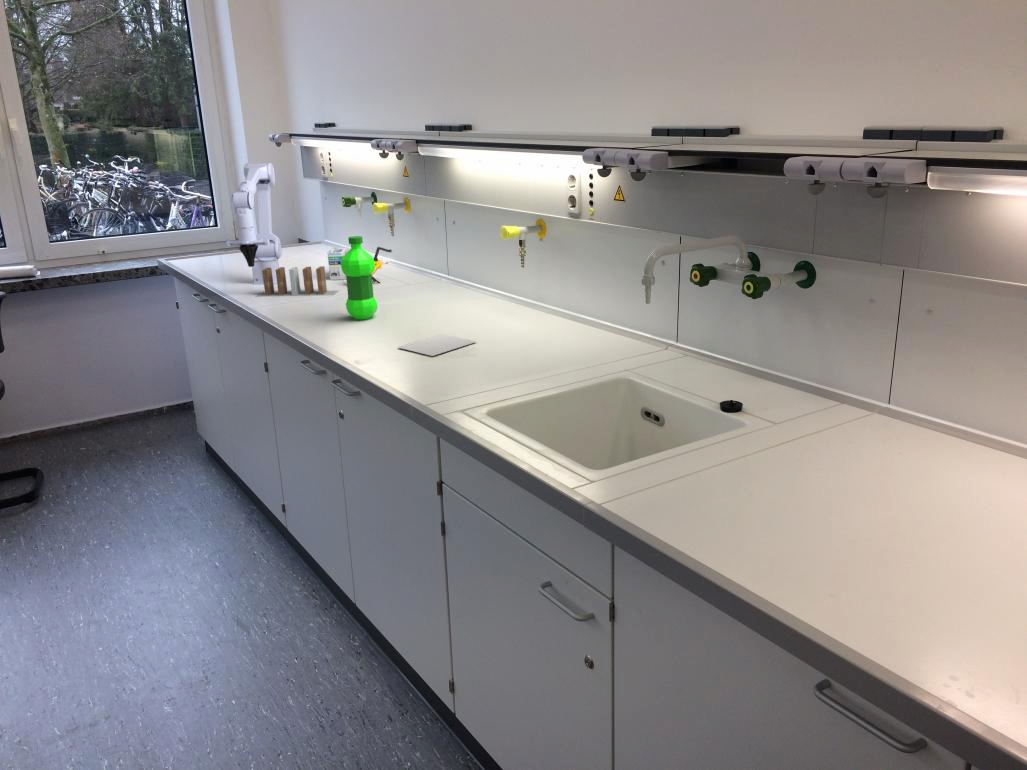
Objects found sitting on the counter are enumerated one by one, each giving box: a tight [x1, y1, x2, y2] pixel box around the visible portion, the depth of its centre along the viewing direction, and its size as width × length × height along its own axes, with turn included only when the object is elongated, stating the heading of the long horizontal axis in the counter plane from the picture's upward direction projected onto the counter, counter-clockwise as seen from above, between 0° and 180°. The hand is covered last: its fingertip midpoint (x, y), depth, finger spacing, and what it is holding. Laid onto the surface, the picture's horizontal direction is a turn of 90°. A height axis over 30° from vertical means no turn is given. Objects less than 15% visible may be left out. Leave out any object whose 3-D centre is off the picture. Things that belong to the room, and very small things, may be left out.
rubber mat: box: [255, 290, 340, 298], centre depth 298 cm, size 28×8×1 cm, turn 86°
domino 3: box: [302, 266, 315, 295], centre depth 296 cm, size 2×5×9 cm, turn 176°
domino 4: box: [315, 265, 328, 296], centre depth 296 cm, size 2×5×9 cm, turn 176°
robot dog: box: [345, 246, 393, 284], centre depth 309 cm, size 6×18×13 cm, turn 120°
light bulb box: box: [327, 247, 350, 281], centre depth 324 cm, size 11×7×11 cm, turn 2°
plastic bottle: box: [341, 235, 378, 321], centre depth 258 cm, size 10×10×25 cm
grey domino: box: [288, 266, 302, 295], centre depth 296 cm, size 2×5×9 cm, turn 176°
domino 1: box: [262, 268, 275, 297], centre depth 297 cm, size 2×5×9 cm, turn 176°
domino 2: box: [276, 266, 288, 295], centre depth 297 cm, size 2×5×9 cm, turn 176°
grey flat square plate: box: [397, 333, 477, 357], centre depth 223 cm, size 23×25×1 cm
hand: (251, 266), depth 296 cm, fingers closed
